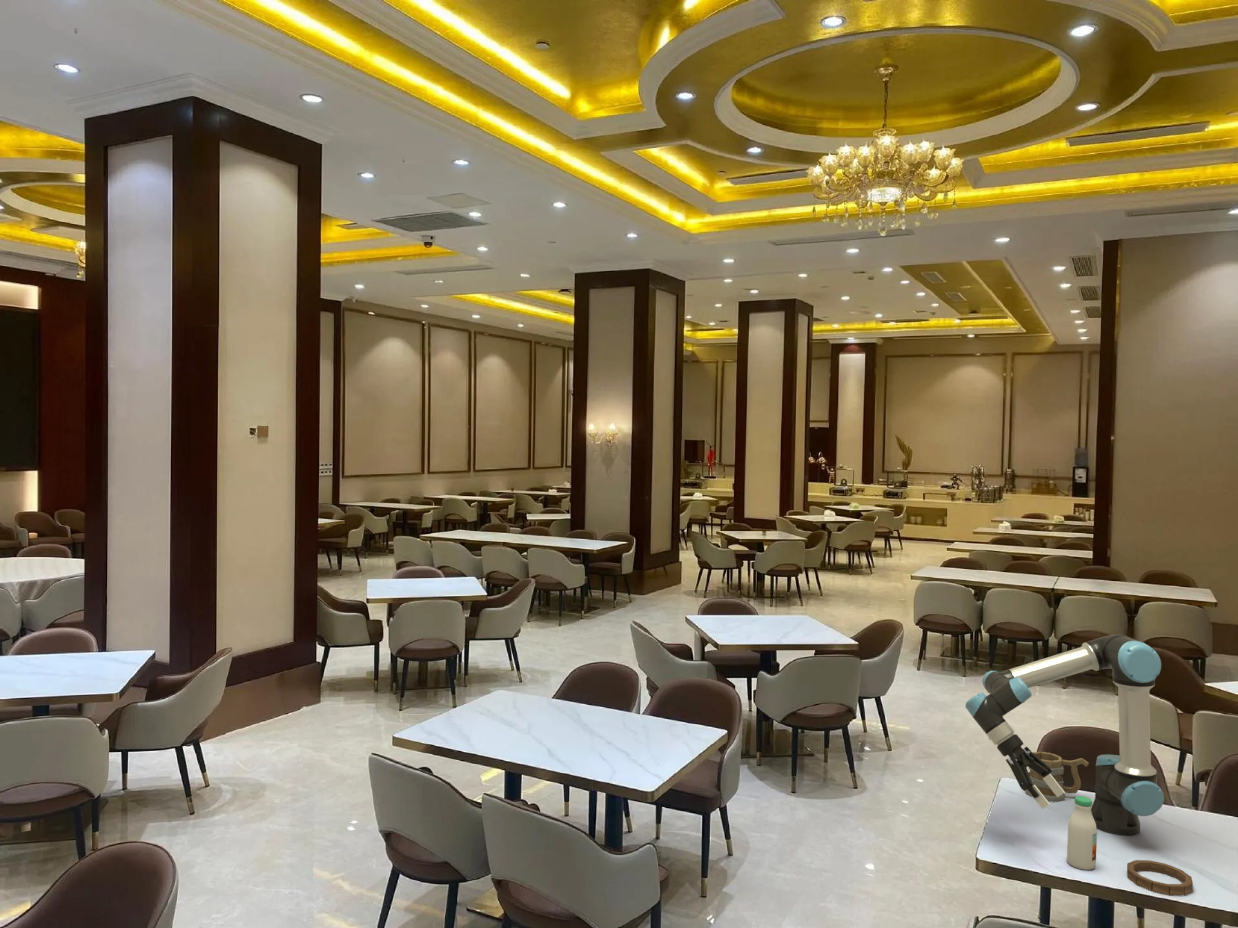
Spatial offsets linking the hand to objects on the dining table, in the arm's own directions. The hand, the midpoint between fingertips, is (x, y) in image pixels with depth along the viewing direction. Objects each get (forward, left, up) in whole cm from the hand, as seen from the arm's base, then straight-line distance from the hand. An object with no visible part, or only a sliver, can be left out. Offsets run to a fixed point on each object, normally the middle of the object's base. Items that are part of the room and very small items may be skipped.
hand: (1054, 800), depth 272 cm
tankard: (-55, -1, -17) cm, 57 cm away
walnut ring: (+1, +28, -17) cm, 33 cm away
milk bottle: (+1, +8, -17) cm, 19 cm away
